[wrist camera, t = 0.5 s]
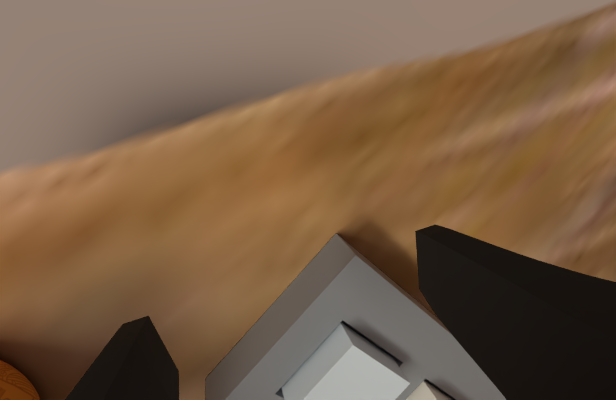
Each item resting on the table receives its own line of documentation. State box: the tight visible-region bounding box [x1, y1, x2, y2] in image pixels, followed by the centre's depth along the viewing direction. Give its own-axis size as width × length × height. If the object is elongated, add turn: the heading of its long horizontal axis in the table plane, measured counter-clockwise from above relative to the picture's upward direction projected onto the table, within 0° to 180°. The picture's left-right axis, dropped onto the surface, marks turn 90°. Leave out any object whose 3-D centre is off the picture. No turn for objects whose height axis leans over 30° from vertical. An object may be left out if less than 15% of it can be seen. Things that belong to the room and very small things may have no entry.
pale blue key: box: [281, 322, 410, 400], centre depth 20 cm, size 5×5×2 cm
